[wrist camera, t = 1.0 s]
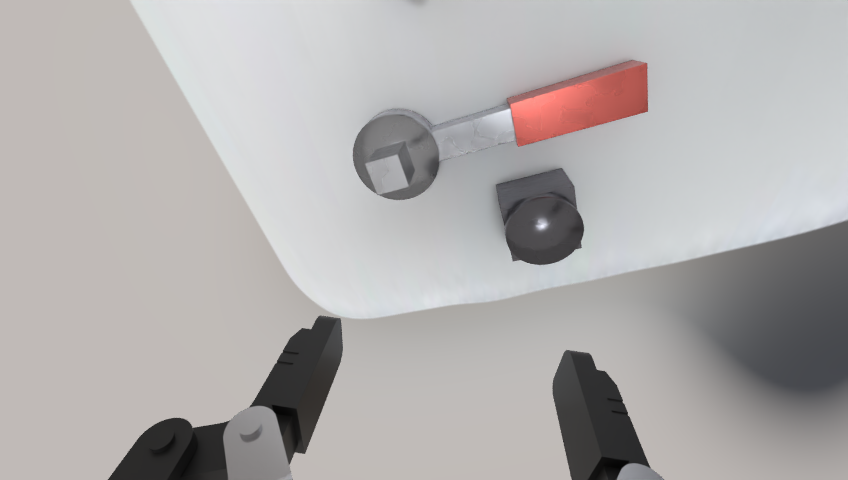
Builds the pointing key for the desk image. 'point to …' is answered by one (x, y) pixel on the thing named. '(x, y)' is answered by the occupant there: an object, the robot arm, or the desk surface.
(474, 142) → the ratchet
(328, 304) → the desk surface
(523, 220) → the block with domed cap
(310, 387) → the robot arm
